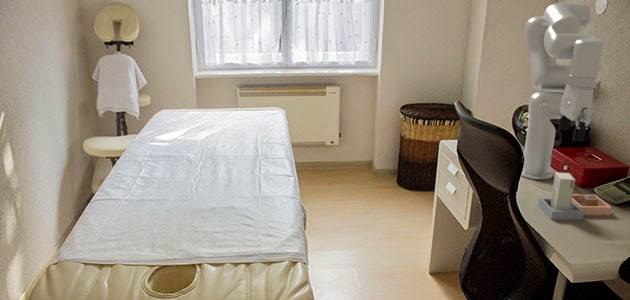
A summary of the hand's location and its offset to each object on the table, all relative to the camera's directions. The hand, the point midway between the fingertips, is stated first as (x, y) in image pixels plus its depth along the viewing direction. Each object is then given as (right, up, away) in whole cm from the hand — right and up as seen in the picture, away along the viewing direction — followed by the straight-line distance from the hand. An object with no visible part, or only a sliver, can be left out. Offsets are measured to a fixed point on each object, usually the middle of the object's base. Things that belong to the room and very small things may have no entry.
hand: (570, 135), depth 154 cm
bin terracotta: (+8, -24, +6) cm, 26 cm away
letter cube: (+8, -23, +5) cm, 25 cm away
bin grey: (-2, -25, +3) cm, 25 cm away
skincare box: (-2, -24, +3) cm, 25 cm away
